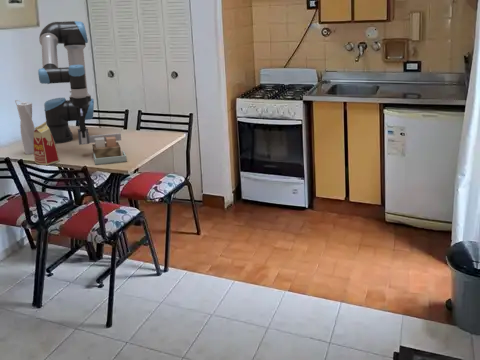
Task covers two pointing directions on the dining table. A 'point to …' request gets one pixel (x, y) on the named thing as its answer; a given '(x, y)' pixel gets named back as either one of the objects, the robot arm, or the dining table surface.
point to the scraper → (92, 138)
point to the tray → (110, 159)
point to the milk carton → (44, 146)
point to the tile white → (99, 142)
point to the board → (107, 151)
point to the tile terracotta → (110, 141)
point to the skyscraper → (26, 126)
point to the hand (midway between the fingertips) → (84, 142)
